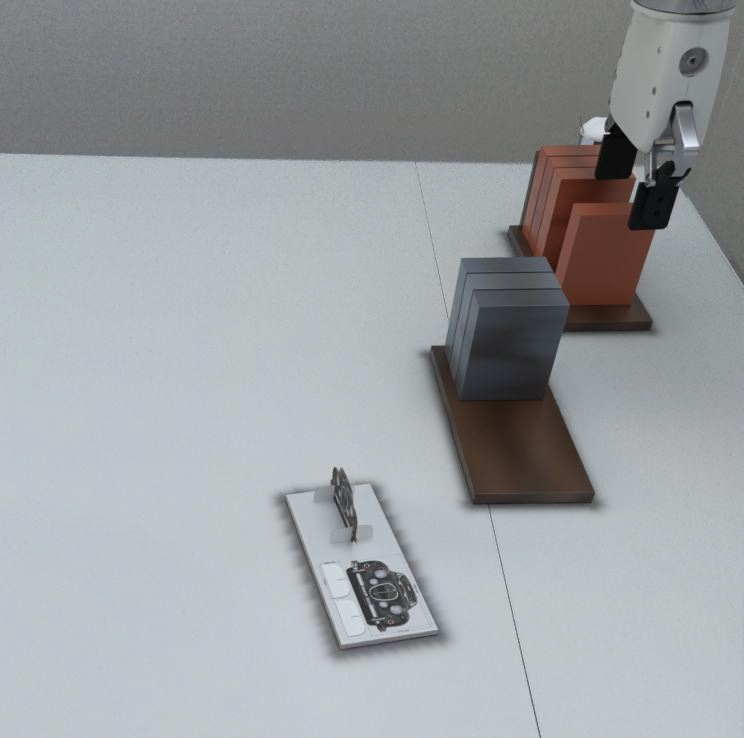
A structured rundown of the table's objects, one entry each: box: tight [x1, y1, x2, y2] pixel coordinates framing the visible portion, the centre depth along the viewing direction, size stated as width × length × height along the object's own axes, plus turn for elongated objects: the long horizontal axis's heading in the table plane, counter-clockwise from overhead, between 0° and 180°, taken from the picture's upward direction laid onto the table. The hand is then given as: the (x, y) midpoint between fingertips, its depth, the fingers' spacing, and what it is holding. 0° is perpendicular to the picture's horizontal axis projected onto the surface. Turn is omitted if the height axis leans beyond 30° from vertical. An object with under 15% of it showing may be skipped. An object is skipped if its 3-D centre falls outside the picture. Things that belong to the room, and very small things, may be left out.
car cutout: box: [285, 466, 439, 650], centre depth 68 cm, size 15×7×4 cm, turn 11°
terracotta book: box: [555, 202, 656, 305], centre depth 90 cm, size 7×2×9 cm, turn 90°
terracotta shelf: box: [507, 144, 654, 332], centre depth 94 cm, size 9×19×10 cm, turn 0°
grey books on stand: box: [429, 256, 596, 504], centre depth 78 cm, size 9×20×10 cm, turn 0°
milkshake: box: [577, 114, 610, 145], centre depth 105 cm, size 5×5×10 cm
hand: (628, 202), depth 86 cm, fingers open, 9 cm apart
